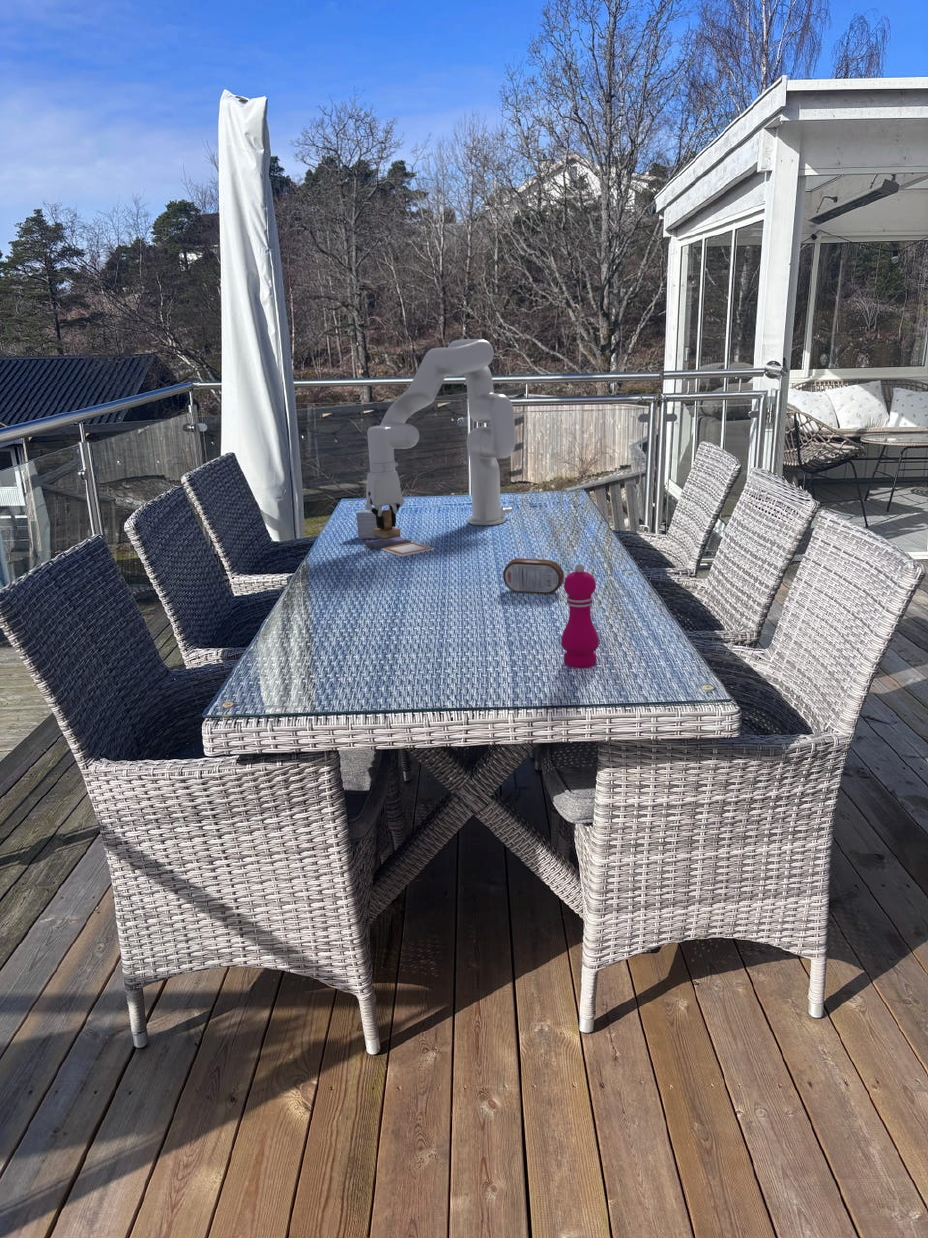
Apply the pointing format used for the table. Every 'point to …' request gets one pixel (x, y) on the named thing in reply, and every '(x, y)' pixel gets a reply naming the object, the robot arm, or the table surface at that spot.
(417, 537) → the table surface
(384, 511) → the stamp
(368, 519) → the medicine box
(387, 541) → the ink pad
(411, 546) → the cream card
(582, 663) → the pepper mill
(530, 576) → the tin
